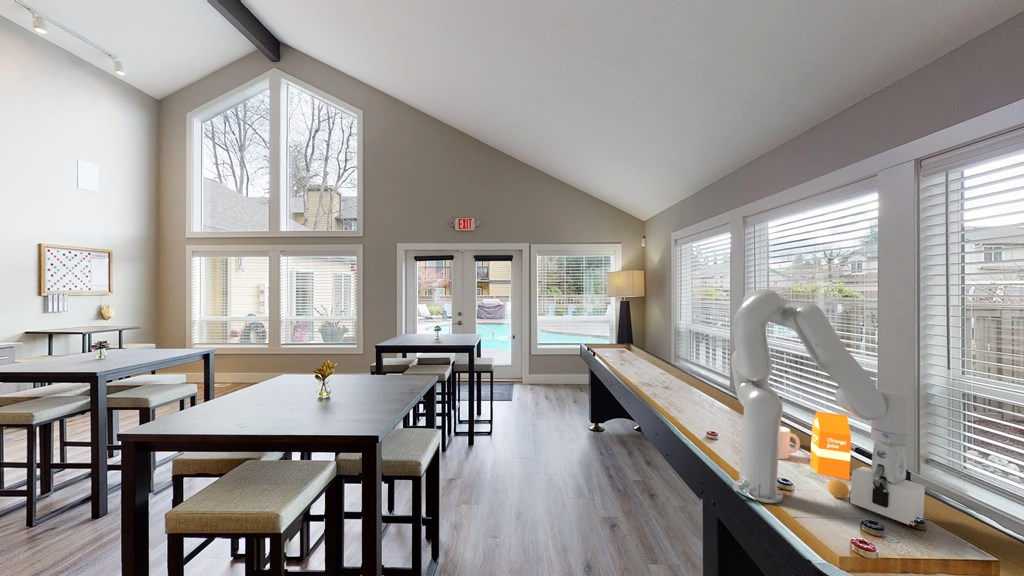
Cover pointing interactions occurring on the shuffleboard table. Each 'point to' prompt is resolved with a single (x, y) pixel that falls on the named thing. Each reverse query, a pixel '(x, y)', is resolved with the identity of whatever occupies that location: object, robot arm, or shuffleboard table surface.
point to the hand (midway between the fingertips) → (885, 501)
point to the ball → (838, 488)
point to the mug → (786, 443)
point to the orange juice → (831, 445)
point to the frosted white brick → (902, 496)
